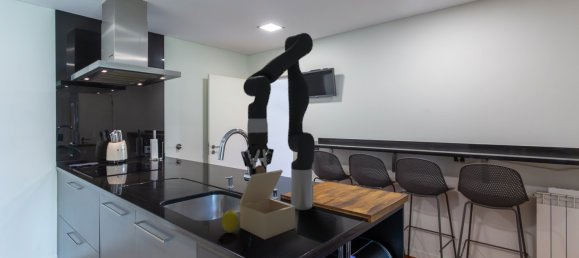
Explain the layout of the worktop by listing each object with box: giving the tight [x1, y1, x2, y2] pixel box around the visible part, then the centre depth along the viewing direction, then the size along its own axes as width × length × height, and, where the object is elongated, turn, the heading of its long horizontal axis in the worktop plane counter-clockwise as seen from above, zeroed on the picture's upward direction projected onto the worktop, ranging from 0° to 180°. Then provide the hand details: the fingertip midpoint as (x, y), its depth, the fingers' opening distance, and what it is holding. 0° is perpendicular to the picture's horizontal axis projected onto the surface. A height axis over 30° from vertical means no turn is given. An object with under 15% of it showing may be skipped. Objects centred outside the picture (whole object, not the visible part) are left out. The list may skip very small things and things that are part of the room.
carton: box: [239, 197, 296, 240], centre depth 104 cm, size 14×14×8 cm
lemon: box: [221, 209, 240, 234], centre depth 100 cm, size 6×6×8 cm
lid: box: [238, 164, 284, 206], centre depth 108 cm, size 14×14×6 cm
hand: (258, 177), depth 108 cm, fingers closed on lid, 4 cm apart
